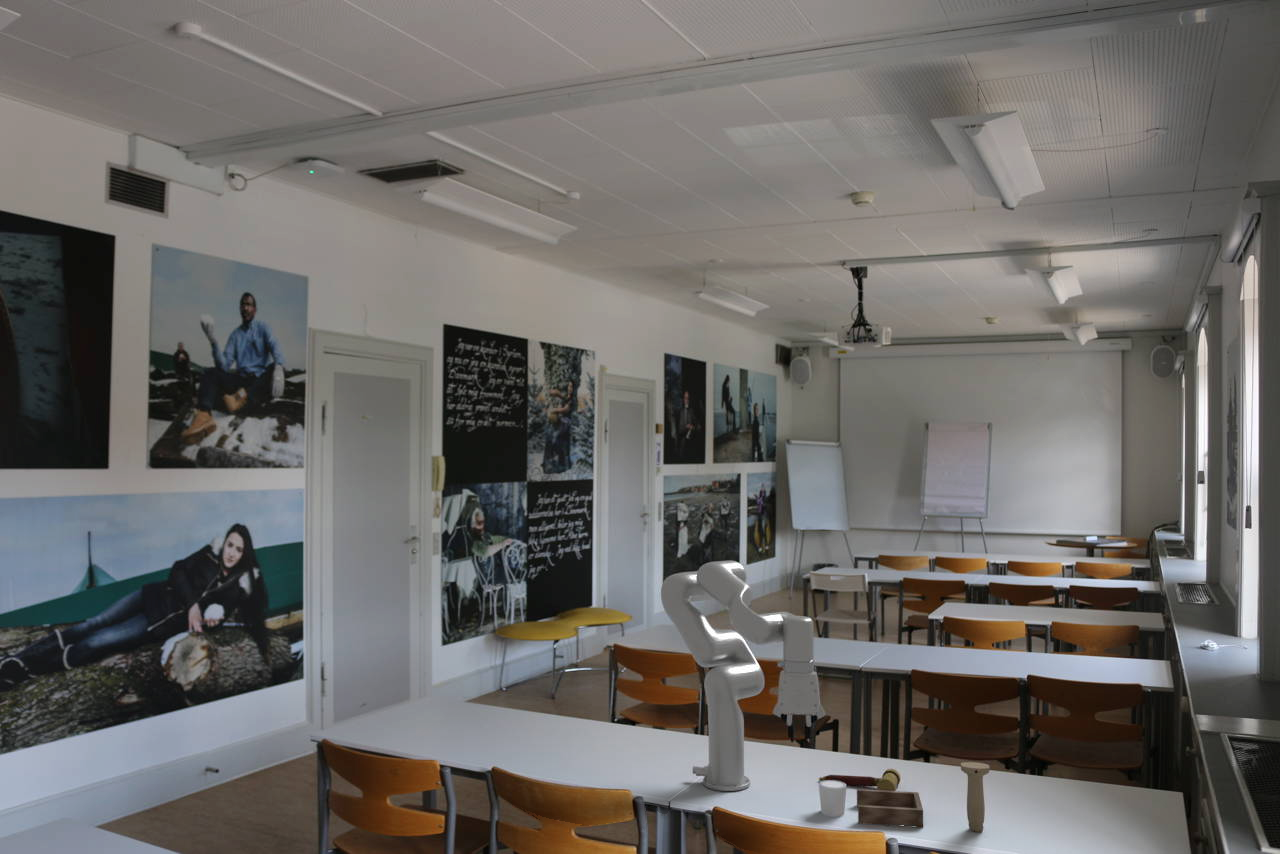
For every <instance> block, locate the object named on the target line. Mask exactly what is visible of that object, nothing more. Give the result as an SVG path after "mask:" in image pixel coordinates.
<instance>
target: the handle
mask: <svg viewBox="0 0 1280 854" xmlns="http://www.w3.org/2000/svg"><path fill="white" fill-rule="evenodd" d="M990 769H991V768H990V765H989V764H987V763H984V762H983V763H982V762H975V761H972V762H971V761H969V762H968V761H965V762H964V761H963V762H961V763H960V770H961V771H962V772H963V773H964V774H966V776H967V792H966V815H967V821H968V828H969V830H970V831H971V832H972V831H973V832H976V833H978V832H983V831H984V827H985V826H984V823H985V812H986V811H985V809H986V808H985V805H986V804H985V794H984V793H985V792H984V776H985V775H988V774H989V773H990V771H991V770H990Z"/></svg>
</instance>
